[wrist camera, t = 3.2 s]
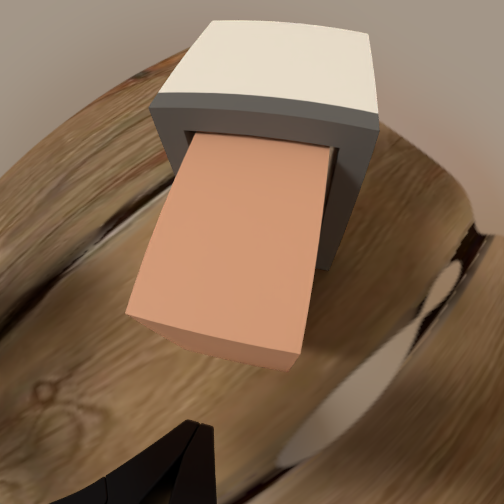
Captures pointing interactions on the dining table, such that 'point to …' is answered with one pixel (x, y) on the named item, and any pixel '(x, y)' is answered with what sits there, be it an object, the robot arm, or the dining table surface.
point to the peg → (236, 249)
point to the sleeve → (279, 101)
